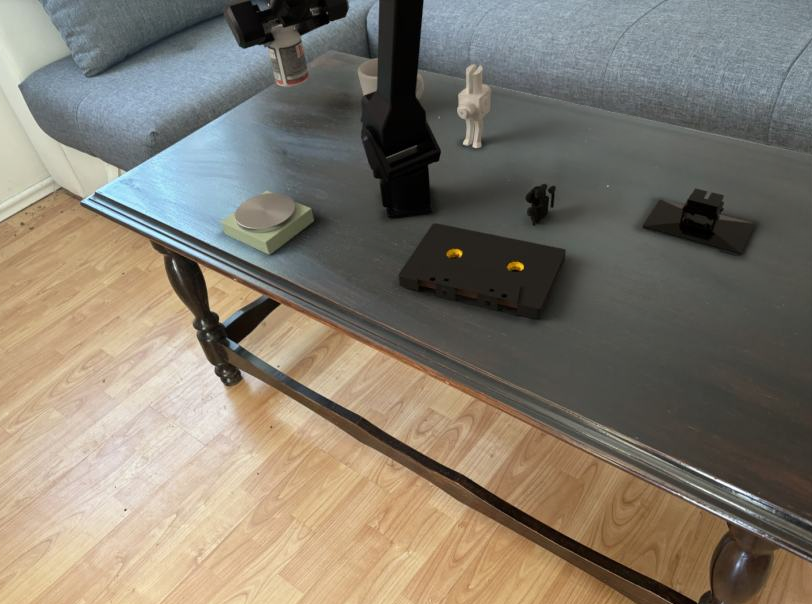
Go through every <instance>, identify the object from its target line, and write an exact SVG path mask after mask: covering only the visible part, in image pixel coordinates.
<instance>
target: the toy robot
mask: <svg viewBox="0 0 812 604" xmlns="http://www.w3.org/2000/svg"><path fill="white" fill-rule="evenodd" d="M465 83H466V86H465V88H463V90H461V91H460V92H459V93H458V95H457V96H458V97H457V99H458V107H457V108H456V110H457V111H456V112H457V114H458V117H459V118H461V119H462V120H465V123H466V134H465V139H464V140H463V142H462V145H464V146H471V145H472V148H474V149H479V148H482V146H483V145H482V134H483V131H484V123H483V121H484V120H483V118H484V117H485V116H487V114H488V113H489V112H491V94H492V88H491V87H490V86H489V85H487V84H483V66H482V64H479V66H478V67H477V64H476V63H474V64H470V65H469V66H467V67H466V69H465Z"/></svg>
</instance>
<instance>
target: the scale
mask: <svg viewBox="0 0 812 604" xmlns="http://www.w3.org/2000/svg"><path fill="white" fill-rule="evenodd" d="M314 221H315V219H314V214H313V210H312V208H311V207H309V206H307V205H304V204H302V203H299V202H297V201H294V200H293V199H292V198H291V197H290V196H289V195H286V194H283V193H278V192H277V193H276V192H272V191H270V190H265V191H264V192H262V193H261V194H257V195H254V196H252V197H250V198H247V199H246V200H245V201H243V202H241V203H240V204H239V205H238V206H237V208H236V210H235V211H234V212H233V213H231V214H230V215H228V216H227V217H225V218H224V219H223V220H221V221H220V223H221V226H222V229H223V231H224V234H225V235H226V236H228V237H229V238H232V239H234V240H237V241H238V242H240V243H242V244H245V245H247V246H249V247H252V248H253V249H255V250H258V251H260V252H261V253H264V254H266V255H268V256H270V255H272V254H273V253H274V252H275V251H277V250H278V249H280V248H281V247H282V246H283V245H285V244H286V243H287V242H289V241H290V240H291V239H293V238H294V237H296V236H297V235H298V234H299V233H301V232H302V231H303V230H305V229H306V228H308V226H310V225H311V224H312V223H314Z"/></svg>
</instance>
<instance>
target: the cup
mask: <svg viewBox="0 0 812 604" xmlns="http://www.w3.org/2000/svg"><path fill="white" fill-rule="evenodd" d="M377 68H378V57H375V58H371V59H369V60H366V61H364V62H363V63H361V64H360V65H359V67H358V68H357V74H358V78H359V83H360V87H361V92H362V97H363V96H364V95H366V94H369V93H372V92H374V91H376V90H377ZM417 84H418V89H417V91H416V97H417V98H418V100H419V99H420V98H422V96H423V93H424V90H425V89H424V88H425V83H424V79H423V77H422V75H421V74H420V73H418V75H417Z"/></svg>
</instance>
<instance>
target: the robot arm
mask: <svg viewBox="0 0 812 604" xmlns="http://www.w3.org/2000/svg"><path fill="white" fill-rule="evenodd" d="M424 3H425V0H378V31H377V34H378V35H377V58H378V68H377V90H376V91H374V92H372V93H369V94H366V95H364V96H363V95H362V98H361V100H360V106H361V117H360V119H359V120H360V123H362V124H361V131H360V135H361V136H360V139H361V143H362V145H363V149H364V153H365V156H366V159H367V163H368V165H369V168H370V170H371V171H372V174H373V178H374V179H376V180H377V179H378V181H379V189H380V196H381V204H382V207H383V208H386V217H387V218H390V219H392V218H400V217H401V218H402V217H408V216H417V215H425V214H432V213H433V212H434V207H433V203H432V198H431V186H430V185H431V183H430V169H429V165H431V164H433V163H438V162H440V159H441V154H442V150H441V147H440V145H439V143H438V141H437V139H436V137H435V134H434V133H433V130H432V129H431V127H430V124H429V122H428V120H427V110H426V109H425V108H424V106H423V104H422V103H421V102H420V100H419V99H418V98H417V97H416V93H417V84H418V82H417V75H418V74H419V73H418V72H419V63H420V62H419V61H420V49H421V38H422V26H423V15H424V5H425V4H424ZM267 6H268V8H267V9H263V10H261V9H260V7H259V4H257V3H256V4H253V3H252V1H251V0H235V1H231V2H229V3H226V4H225V6H224V9H223V18H224V19H225V21H226V23H227V25H228V27H229V29H230V31H231V34H232V35H233V38H234V39H235V41H236V43H237V45H238V47H239V48H241V49H243V50H246V49H250V48H252V47H255V46H263V47H264V48H268V46H269V45H270V44H271V43H272V42H274V41H275V39H274V37H273V35H272V33H271V30H272V27H274V26H278V25H281V24H282V26H283V28H285V27H289V26H292V25H295V28H294V29H295V30H296V31H297V32H298V33H299V34H300V36H301V37H302V36H304V35H306V34H309V33H311V32H313V31H316V30H317V29H320V28H322V27H324V26H326V25H329V24H330V23H331V22H335V21H339V20H341V19H345V18H346V17H347V14H348V12H349V9H350V3H349V0H269V2H268V3H267Z"/></svg>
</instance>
